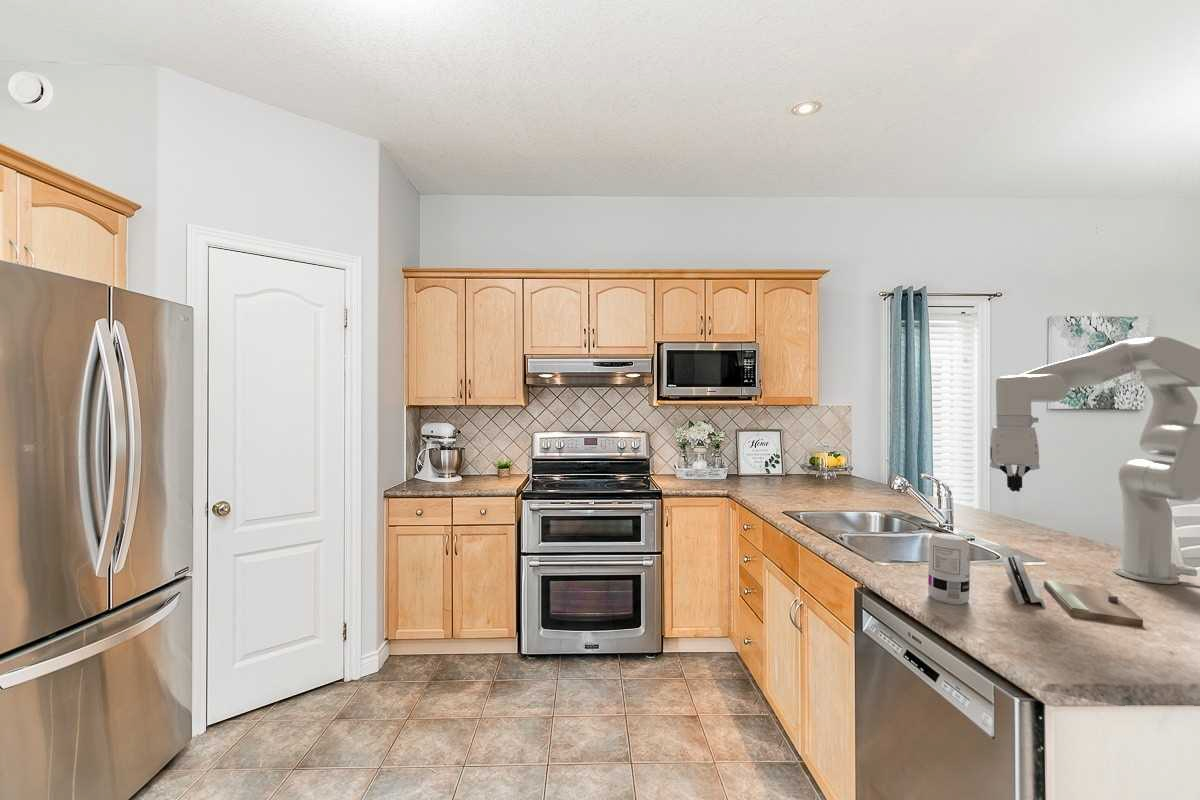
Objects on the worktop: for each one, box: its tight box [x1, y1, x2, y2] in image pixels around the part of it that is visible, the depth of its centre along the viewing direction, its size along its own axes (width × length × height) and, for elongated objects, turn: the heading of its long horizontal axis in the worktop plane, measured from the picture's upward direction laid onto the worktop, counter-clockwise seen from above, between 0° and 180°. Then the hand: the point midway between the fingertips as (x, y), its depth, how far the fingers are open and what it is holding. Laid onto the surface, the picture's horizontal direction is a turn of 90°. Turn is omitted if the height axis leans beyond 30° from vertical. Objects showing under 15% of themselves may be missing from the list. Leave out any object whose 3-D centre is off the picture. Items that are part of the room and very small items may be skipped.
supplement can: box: [927, 532, 971, 606], centre depth 132 cm, size 8×8×15 cm
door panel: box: [1043, 580, 1144, 628], centre depth 129 cm, size 12×21×3 cm, turn 154°
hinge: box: [1002, 555, 1046, 609], centre depth 136 cm, size 17×5×10 cm, turn 147°
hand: (1014, 490), depth 148 cm, fingers closed
